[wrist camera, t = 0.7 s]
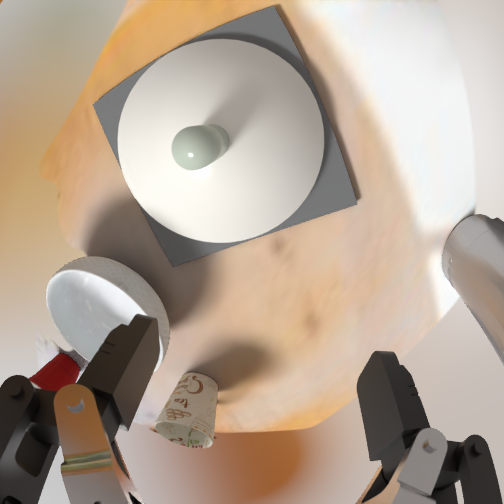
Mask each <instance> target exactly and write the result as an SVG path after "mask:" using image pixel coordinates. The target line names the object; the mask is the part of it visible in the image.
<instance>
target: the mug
mask: <svg viewBox="0 0 504 504" xmlns="http://www.w3.org/2000/svg"><path fill="white" fill-rule="evenodd" d="M217 395H218V386H217V384H216V382H215V381H214V380H213V379H211V378H210V377H208V376H206V375H203V374H200V373H186V374H184V375H183V376H182V377H181V379H180V380H179V382H178V384H177V386H176V387H175V389H174V391H173V393H172V394H171V396H170V398H169V400H168V401H167V403H166V405H165V407H164V408H163V410H162V412H161V414H160V415H159V417H158V419H157V421H156V423H155V429H156V431H157V432H158V433H159V434H160V435H162V436H163V437H164V438H166V439H168V440H170V441H172V442H174V443H177V444H179V445H183V446H186V447H191V448H207V447H210V446H211V445H212V443H213V439H214V428H215V417H216V406H217Z"/></svg>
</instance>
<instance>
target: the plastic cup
mask: <svg viewBox="0 0 504 504" xmlns="http://www.w3.org/2000/svg"><path fill="white" fill-rule="evenodd" d="M79 372H80V368H79V366H78V365H77V363H76V362H75V361H74V360H73V359H72V358H71V357H69V356H68V355H66V354H64V353H60V354H58V355H57V356H56V357H54V358H53V359H52V360H51V361H49V362H48V363H47V364H46V365H45V366H44V367H43V368H42V369H40V370H39V371H38V372H37V373H36V374H35V375H33V376H32V377H30V378H29V380H30V381H31V383H32V384H33V386H34V388H39V389H45V390H52V391H59V390H60V389H61V388H62V387H64V386H66V385H70V384H75V383H76V380H77V378H78V375H79Z"/></svg>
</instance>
